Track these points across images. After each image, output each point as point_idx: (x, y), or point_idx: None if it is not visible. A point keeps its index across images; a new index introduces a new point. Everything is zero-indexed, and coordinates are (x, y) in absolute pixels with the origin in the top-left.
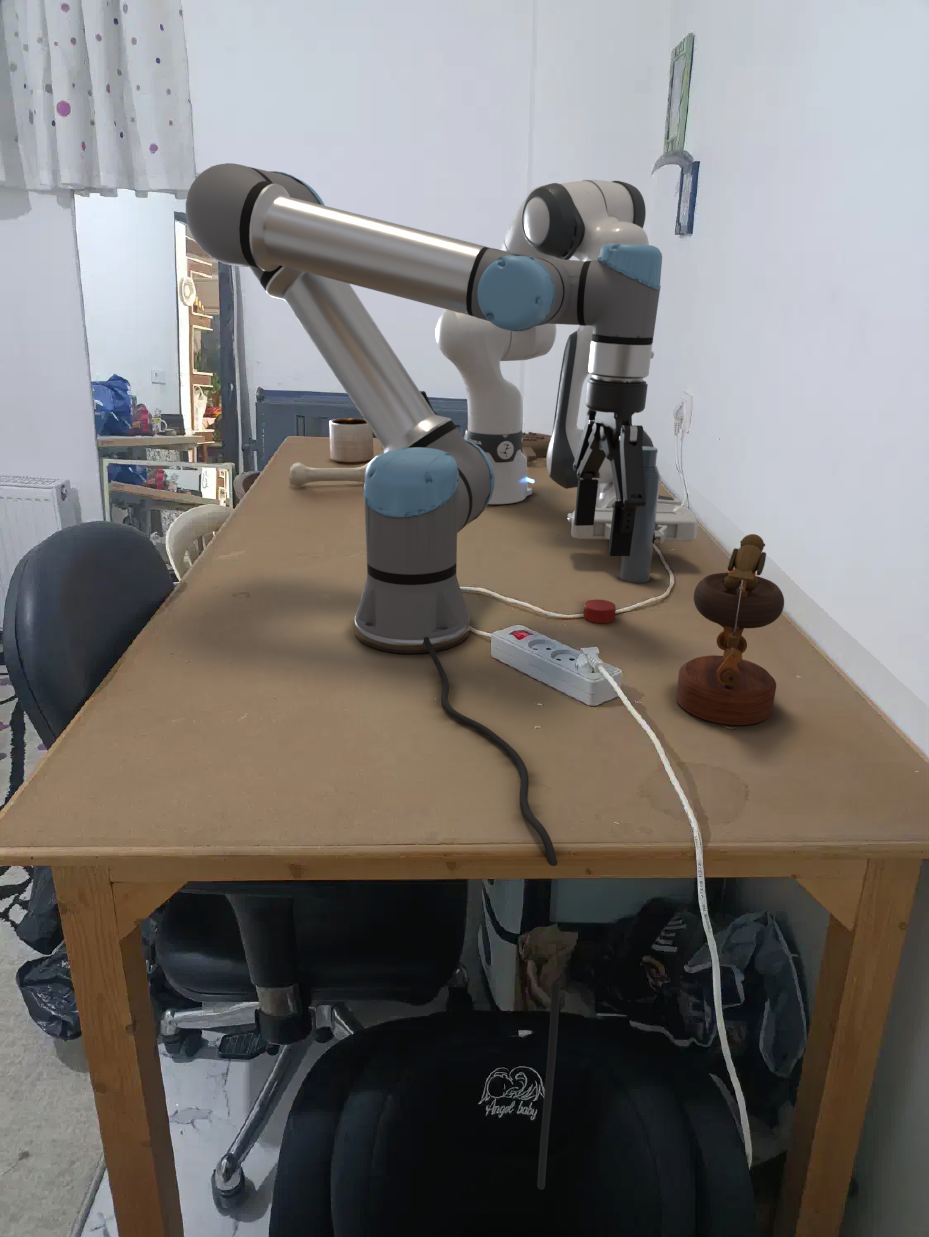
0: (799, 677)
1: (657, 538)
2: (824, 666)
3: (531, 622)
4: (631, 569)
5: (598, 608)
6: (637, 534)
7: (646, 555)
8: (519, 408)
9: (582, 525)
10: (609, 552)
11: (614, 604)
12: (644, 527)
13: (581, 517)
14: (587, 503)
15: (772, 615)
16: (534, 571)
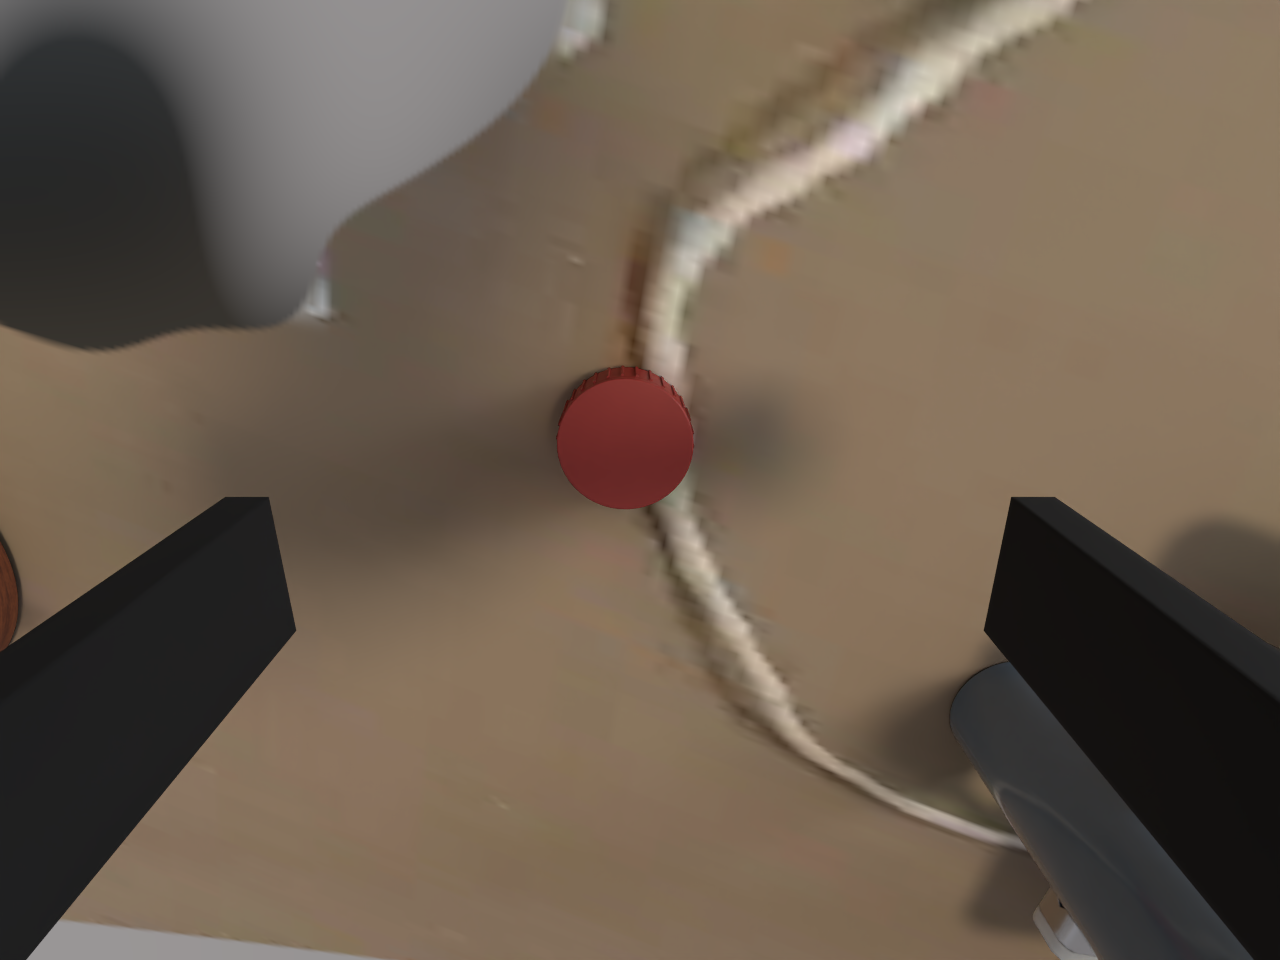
0: None
1: (1056, 917)
2: (176, 919)
3: (622, 100)
4: (996, 714)
5: (583, 424)
6: (1084, 855)
7: (1006, 810)
8: None
9: (1002, 551)
10: (232, 507)
11: (619, 507)
12: (1093, 916)
13: (1041, 569)
14: (1108, 684)
15: None
16: (1261, 325)
